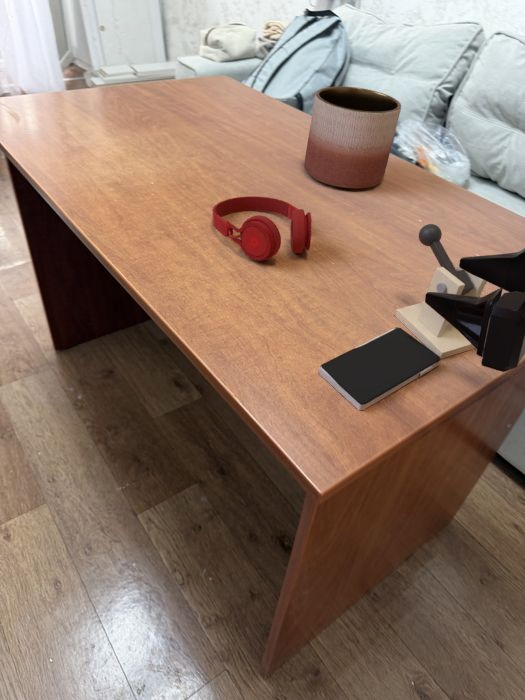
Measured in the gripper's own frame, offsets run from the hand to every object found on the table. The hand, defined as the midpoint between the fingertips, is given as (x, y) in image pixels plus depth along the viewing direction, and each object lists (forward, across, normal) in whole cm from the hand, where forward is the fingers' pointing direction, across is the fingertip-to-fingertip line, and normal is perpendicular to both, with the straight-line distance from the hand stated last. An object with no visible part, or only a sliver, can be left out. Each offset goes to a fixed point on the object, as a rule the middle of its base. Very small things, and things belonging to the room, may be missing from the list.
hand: (443, 278), depth 51 cm
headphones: (+38, -15, +7) cm, 41 cm away
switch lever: (+6, -15, +6) cm, 17 cm away
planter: (+42, -50, +6) cm, 65 cm away
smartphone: (+7, 0, +14) cm, 16 cm away
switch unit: (+4, -13, +15) cm, 20 cm away
